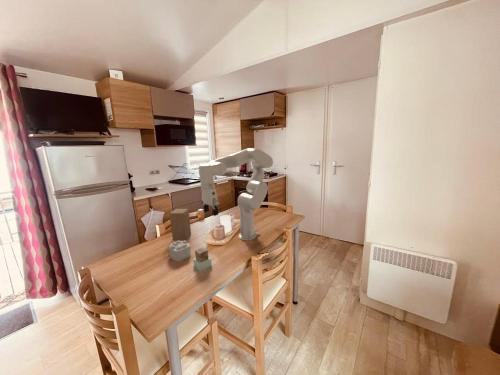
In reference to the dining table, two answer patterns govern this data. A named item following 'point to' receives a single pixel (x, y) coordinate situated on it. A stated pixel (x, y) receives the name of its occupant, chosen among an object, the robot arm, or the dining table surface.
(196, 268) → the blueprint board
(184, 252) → the lumpy-topped squat cylinder
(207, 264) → the base block
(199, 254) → the walnut cube
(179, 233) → the wooden block
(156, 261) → the dining table surface
